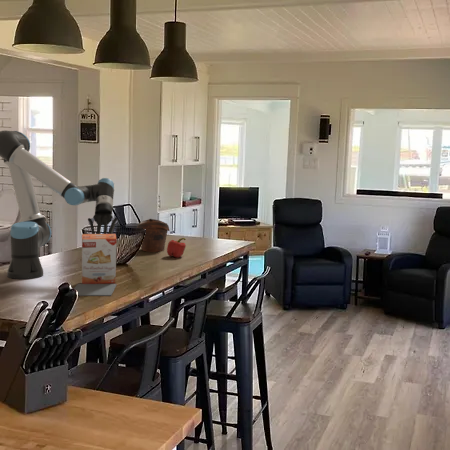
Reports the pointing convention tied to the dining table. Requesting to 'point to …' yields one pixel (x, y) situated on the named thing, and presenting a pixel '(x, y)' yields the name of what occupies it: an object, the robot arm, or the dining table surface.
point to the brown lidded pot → (154, 235)
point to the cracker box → (98, 258)
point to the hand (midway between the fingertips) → (100, 250)
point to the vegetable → (176, 248)
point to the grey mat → (95, 289)
